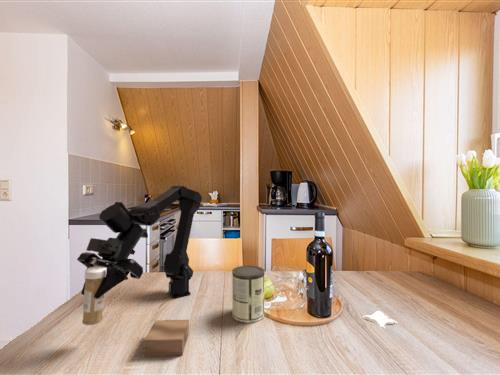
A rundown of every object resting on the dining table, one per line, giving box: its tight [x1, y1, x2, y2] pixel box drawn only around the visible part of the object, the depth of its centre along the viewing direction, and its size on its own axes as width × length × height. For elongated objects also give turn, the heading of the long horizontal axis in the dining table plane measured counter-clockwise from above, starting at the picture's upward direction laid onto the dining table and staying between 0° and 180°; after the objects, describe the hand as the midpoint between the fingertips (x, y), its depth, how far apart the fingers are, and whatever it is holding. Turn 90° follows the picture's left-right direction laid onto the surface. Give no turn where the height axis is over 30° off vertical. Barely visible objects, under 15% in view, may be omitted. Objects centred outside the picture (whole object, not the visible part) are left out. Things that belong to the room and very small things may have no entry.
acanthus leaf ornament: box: [361, 310, 399, 329], centre depth 79 cm, size 8×7×2 cm
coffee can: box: [231, 265, 266, 324], centre depth 83 cm, size 10×10×14 cm
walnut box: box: [143, 319, 190, 358], centre depth 67 cm, size 9×9×4 cm
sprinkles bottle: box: [81, 266, 107, 326], centre depth 66 cm, size 5×5×13 cm
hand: (89, 296), depth 64 cm, fingers closed on sprinkles bottle, 4 cm apart
